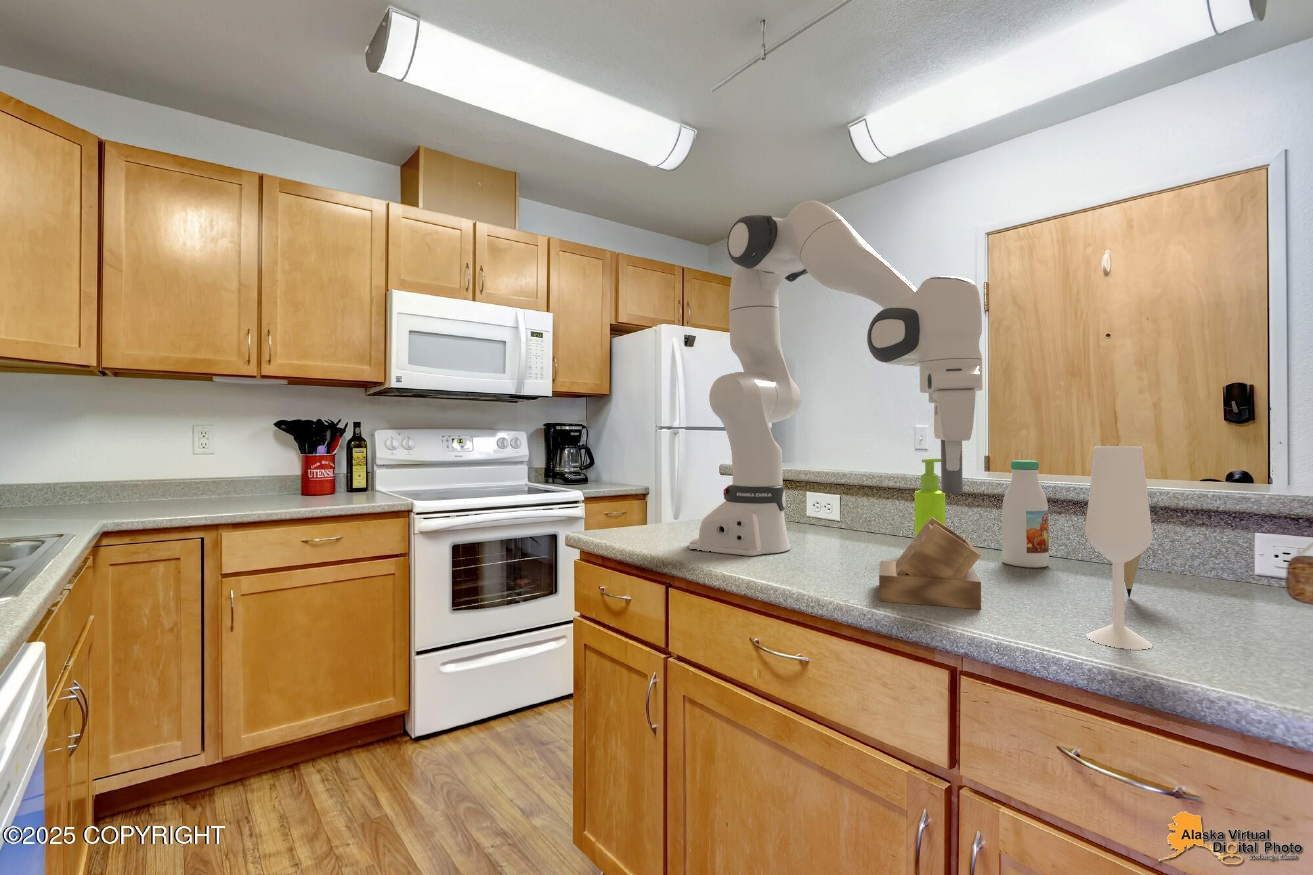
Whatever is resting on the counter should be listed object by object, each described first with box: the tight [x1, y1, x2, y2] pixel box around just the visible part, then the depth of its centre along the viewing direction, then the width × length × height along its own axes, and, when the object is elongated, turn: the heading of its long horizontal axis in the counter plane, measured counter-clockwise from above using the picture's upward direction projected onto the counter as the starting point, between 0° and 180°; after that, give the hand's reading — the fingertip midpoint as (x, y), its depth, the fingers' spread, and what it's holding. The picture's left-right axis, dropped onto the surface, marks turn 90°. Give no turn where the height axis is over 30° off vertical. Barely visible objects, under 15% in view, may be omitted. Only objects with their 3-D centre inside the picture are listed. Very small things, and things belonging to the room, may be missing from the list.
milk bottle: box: [1001, 459, 1050, 569], centre depth 120 cm, size 8×8×20 cm
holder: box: [878, 517, 982, 610], centre depth 98 cm, size 14×11×12 cm
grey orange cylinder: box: [940, 439, 964, 494], centre depth 97 cm, size 3×3×10 cm
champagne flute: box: [1084, 445, 1154, 651], centre depth 77 cm, size 7×7×24 cm
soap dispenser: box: [914, 458, 946, 538], centre depth 130 cm, size 6×7×20 cm
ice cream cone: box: [1124, 524, 1153, 599], centre depth 96 cm, size 6×6×15 cm
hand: (951, 469), depth 97 cm, fingers closed on grey orange cylinder, 3 cm apart
